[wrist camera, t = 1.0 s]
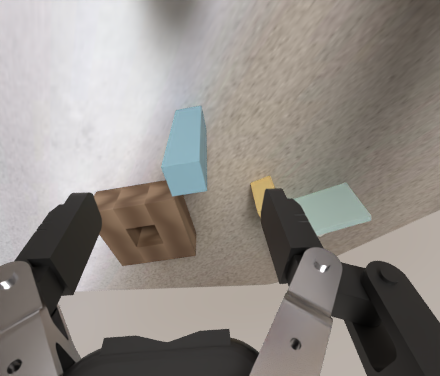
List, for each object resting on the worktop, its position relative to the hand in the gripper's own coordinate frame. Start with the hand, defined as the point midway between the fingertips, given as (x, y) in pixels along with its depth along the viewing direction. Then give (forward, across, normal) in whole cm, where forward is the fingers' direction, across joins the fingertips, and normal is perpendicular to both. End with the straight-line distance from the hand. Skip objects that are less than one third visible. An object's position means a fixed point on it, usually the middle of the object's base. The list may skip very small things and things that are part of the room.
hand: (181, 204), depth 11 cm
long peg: (+19, 0, +3) cm, 19 cm away
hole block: (+20, +7, +19) cm, 28 cm away
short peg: (+19, -10, +13) cm, 26 cm away
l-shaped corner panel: (+20, -20, +21) cm, 35 cm away
